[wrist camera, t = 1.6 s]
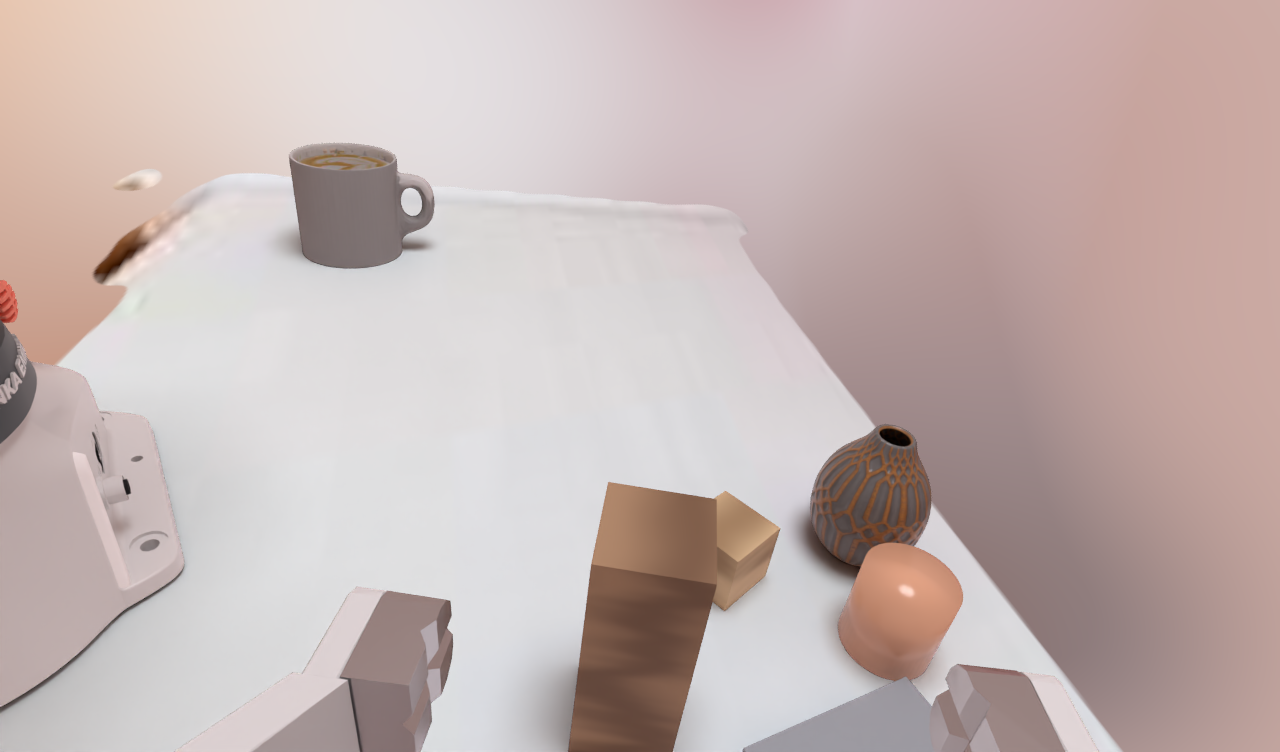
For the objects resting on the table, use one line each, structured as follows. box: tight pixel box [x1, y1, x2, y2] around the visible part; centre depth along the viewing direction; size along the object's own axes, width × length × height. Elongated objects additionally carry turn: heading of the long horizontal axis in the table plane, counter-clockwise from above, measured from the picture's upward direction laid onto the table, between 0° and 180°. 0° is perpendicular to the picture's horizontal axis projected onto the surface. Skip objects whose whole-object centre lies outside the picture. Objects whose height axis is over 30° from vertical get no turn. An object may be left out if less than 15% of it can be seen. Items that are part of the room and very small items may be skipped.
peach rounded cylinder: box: [838, 543, 963, 681], centre depth 36 cm, size 5×5×5 cm
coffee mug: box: [289, 143, 434, 268], centre depth 71 cm, size 13×10×10 cm
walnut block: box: [568, 482, 717, 752], centre depth 29 cm, size 4×4×12 cm
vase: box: [810, 424, 931, 567], centre depth 42 cm, size 7×7×9 cm
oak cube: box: [713, 491, 780, 611], centre depth 39 cm, size 4×4×4 cm
